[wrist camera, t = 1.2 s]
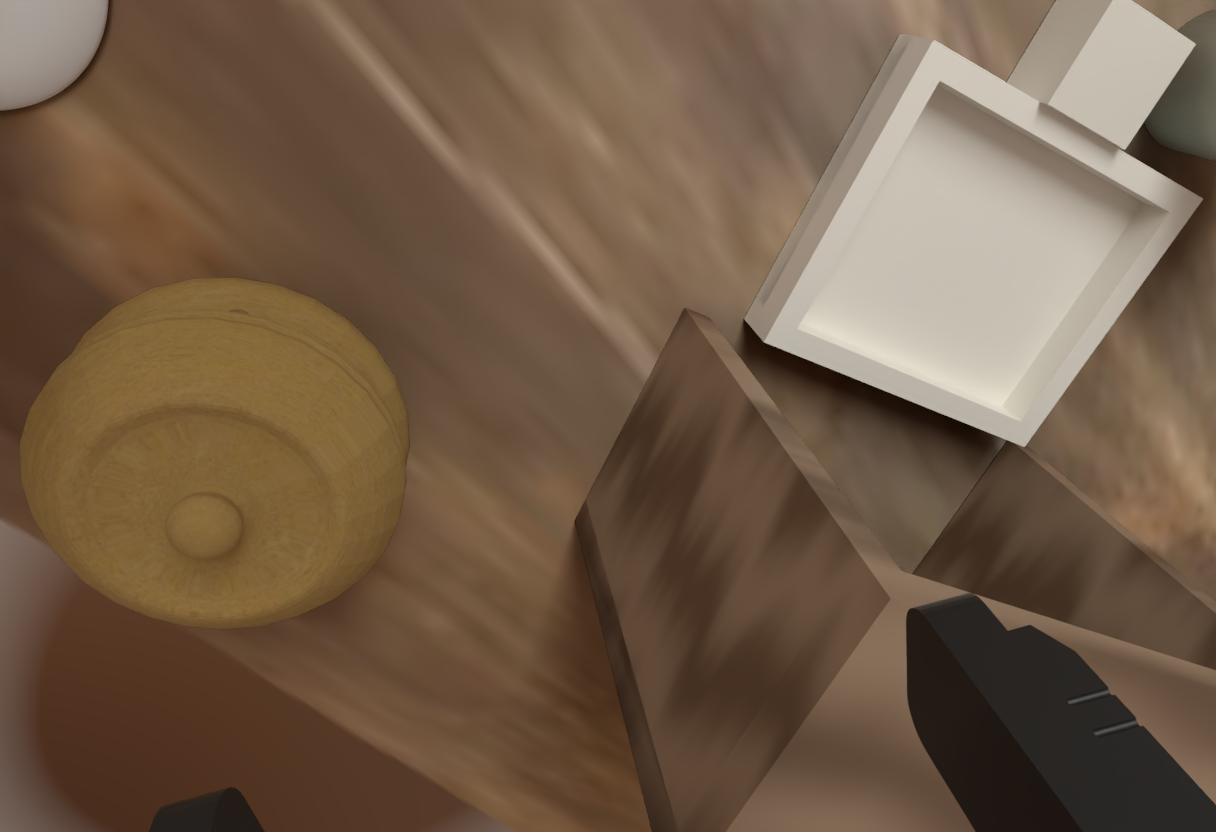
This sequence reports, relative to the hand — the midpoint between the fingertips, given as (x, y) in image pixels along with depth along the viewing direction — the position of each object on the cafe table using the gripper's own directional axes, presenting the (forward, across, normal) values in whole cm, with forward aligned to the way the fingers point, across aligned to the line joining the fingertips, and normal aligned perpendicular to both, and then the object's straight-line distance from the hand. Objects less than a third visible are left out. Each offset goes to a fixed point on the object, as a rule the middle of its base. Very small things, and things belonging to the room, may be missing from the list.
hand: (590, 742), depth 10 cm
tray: (+25, -18, +6) cm, 32 cm away
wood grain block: (+25, -11, +16) cm, 32 cm away
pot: (+26, +10, +5) cm, 28 cm away
